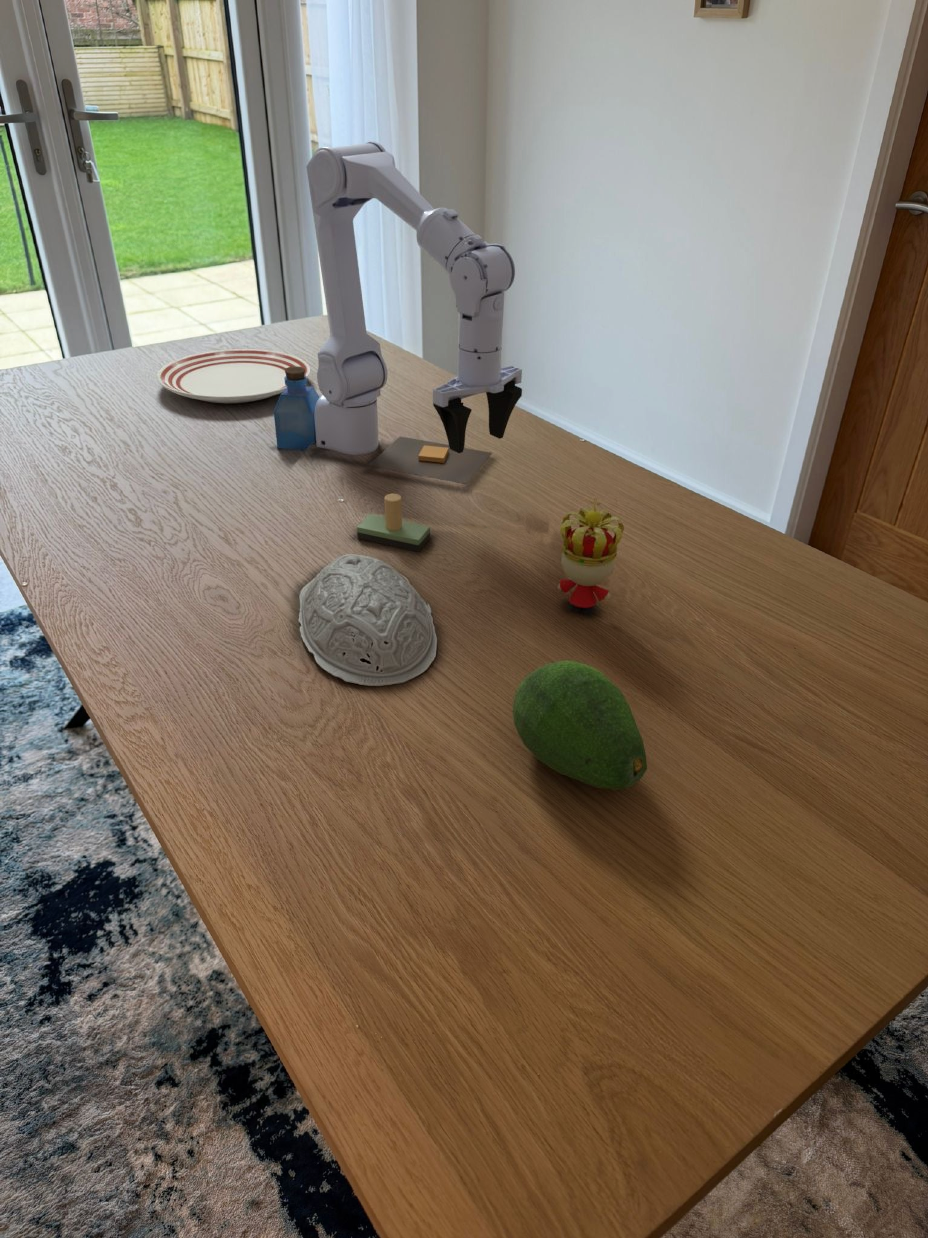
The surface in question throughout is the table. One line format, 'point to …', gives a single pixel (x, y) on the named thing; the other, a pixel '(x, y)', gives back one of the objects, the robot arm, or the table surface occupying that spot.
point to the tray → (406, 460)
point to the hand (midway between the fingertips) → (476, 443)
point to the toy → (588, 556)
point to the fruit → (579, 725)
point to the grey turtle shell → (366, 622)
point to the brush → (393, 528)
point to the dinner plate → (229, 375)
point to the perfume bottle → (296, 412)
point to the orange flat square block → (433, 454)
